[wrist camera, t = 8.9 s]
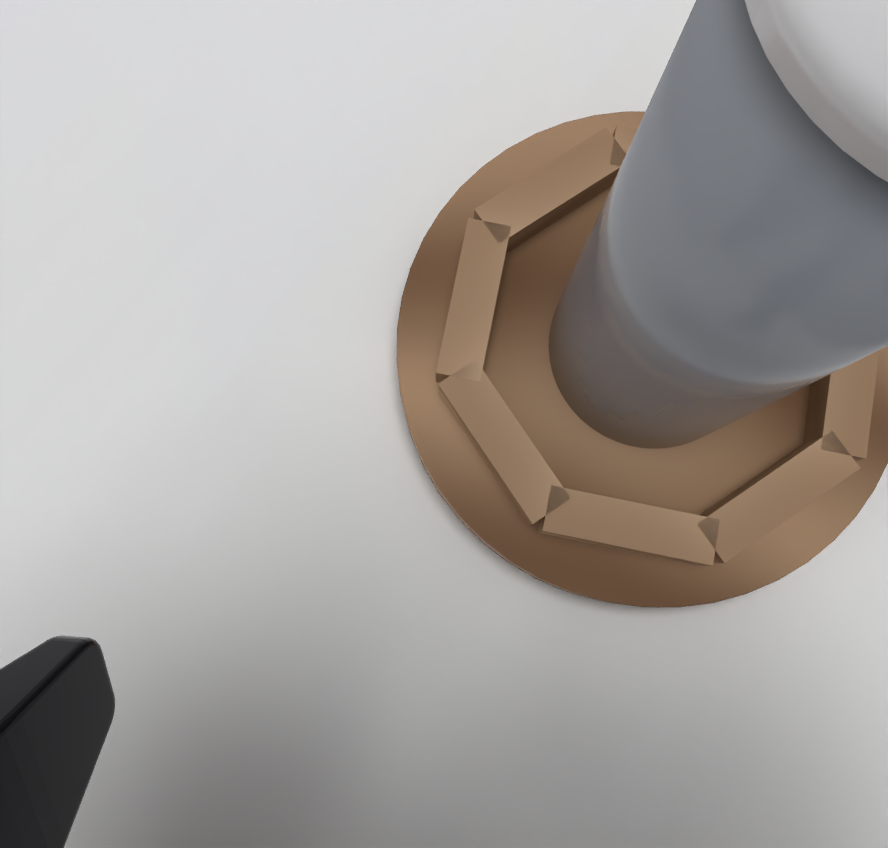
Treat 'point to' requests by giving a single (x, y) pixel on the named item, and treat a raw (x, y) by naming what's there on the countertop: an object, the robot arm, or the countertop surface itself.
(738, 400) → the canister
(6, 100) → the countertop surface
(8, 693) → the robot arm
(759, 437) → the trivet
